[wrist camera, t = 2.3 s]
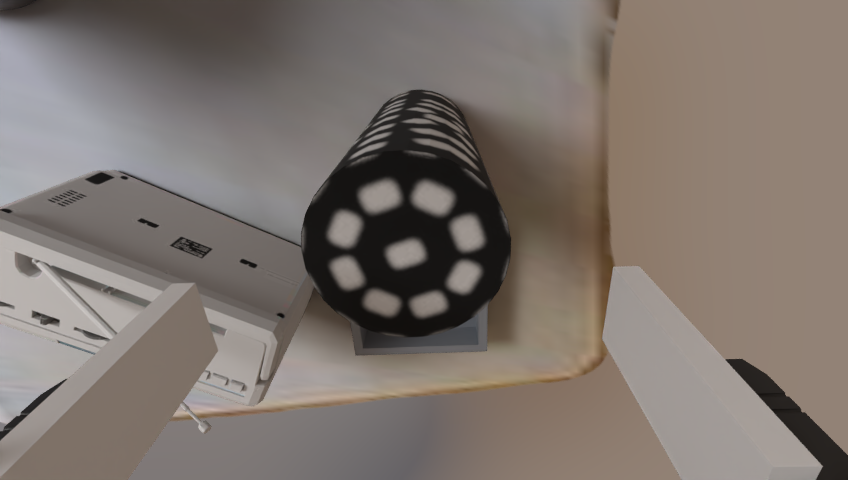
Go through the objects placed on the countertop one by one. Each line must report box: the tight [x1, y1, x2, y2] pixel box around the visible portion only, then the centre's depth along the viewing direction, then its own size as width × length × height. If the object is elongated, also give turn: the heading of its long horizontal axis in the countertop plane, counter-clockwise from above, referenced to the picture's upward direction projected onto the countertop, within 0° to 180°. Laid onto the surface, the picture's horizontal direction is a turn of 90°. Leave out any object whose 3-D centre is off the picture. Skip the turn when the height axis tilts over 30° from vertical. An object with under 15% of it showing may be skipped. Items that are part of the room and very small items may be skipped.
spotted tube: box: [301, 90, 511, 338], centre depth 26 cm, size 8×8×20 cm
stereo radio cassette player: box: [0, 170, 314, 433], centre depth 30 cm, size 21×8×20 cm, turn 64°
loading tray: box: [350, 305, 488, 355], centre depth 39 cm, size 13×13×4 cm
